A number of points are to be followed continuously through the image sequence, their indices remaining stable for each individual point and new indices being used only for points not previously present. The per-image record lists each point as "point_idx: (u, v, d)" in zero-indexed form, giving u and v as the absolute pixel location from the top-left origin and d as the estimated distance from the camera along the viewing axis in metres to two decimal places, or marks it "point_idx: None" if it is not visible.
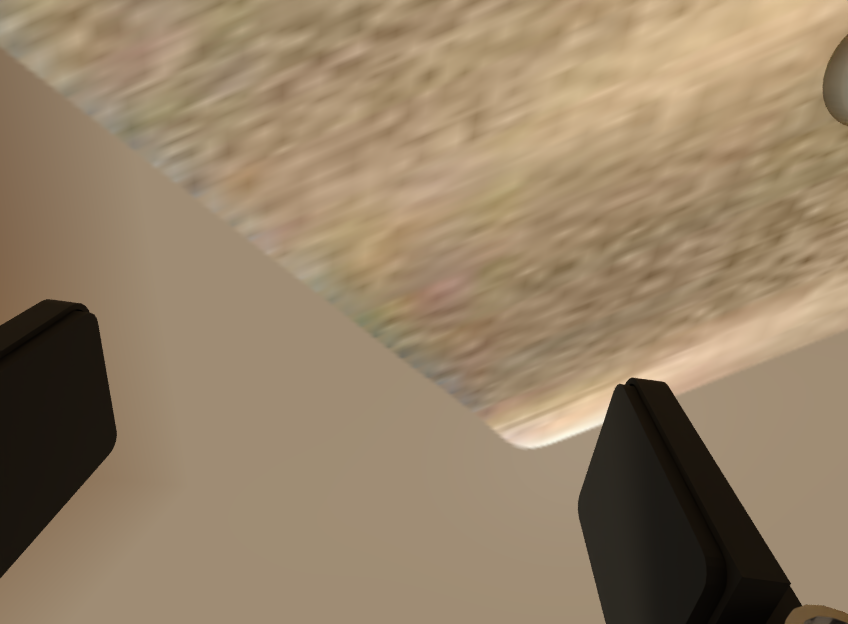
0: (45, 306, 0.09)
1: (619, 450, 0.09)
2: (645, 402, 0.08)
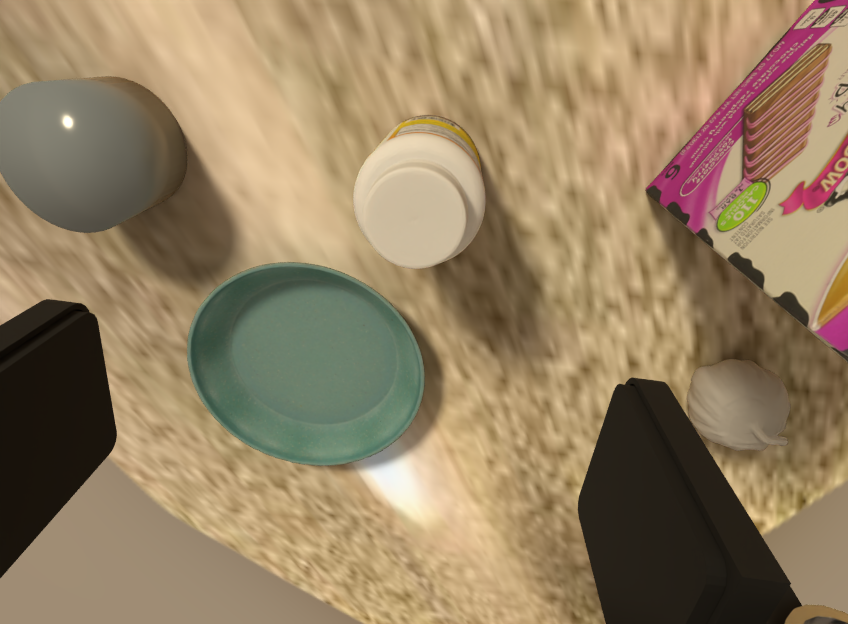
0: (45, 306, 0.09)
1: (619, 450, 0.09)
2: (645, 402, 0.08)
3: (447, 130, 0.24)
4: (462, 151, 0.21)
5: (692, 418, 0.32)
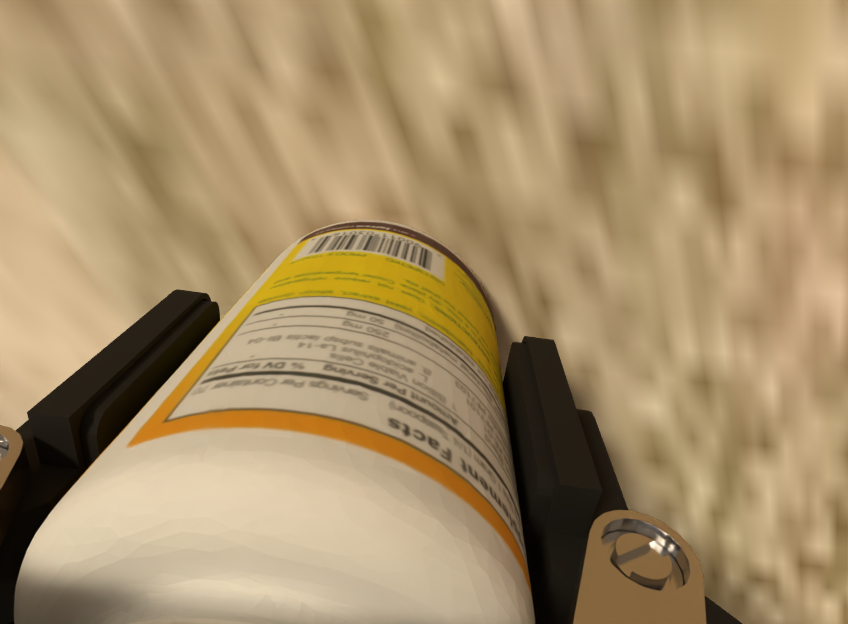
0: (178, 295, 0.09)
1: (508, 400, 0.09)
2: (529, 355, 0.09)
3: (399, 324, 0.07)
4: (443, 516, 0.05)
5: None
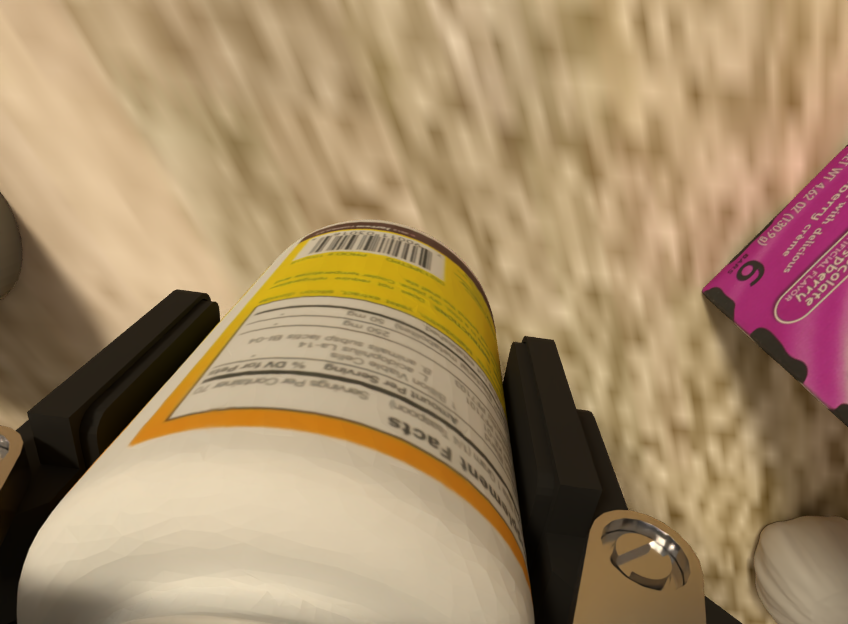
0: (178, 295, 0.09)
1: (508, 400, 0.09)
2: (529, 355, 0.09)
3: (400, 324, 0.07)
4: (443, 514, 0.05)
5: (764, 599, 0.23)
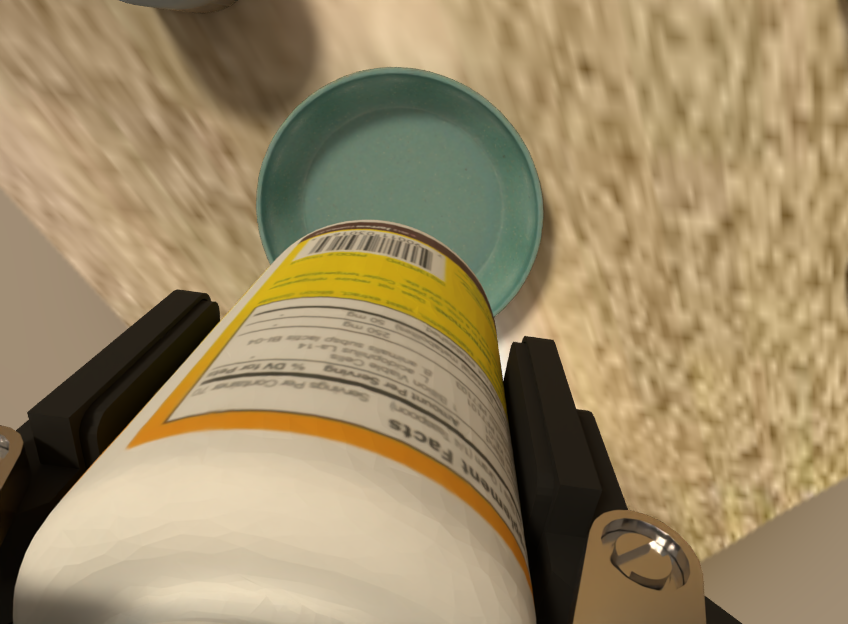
0: (179, 295, 0.09)
1: (508, 400, 0.09)
2: (529, 355, 0.09)
3: (400, 325, 0.07)
4: (444, 518, 0.05)
5: None
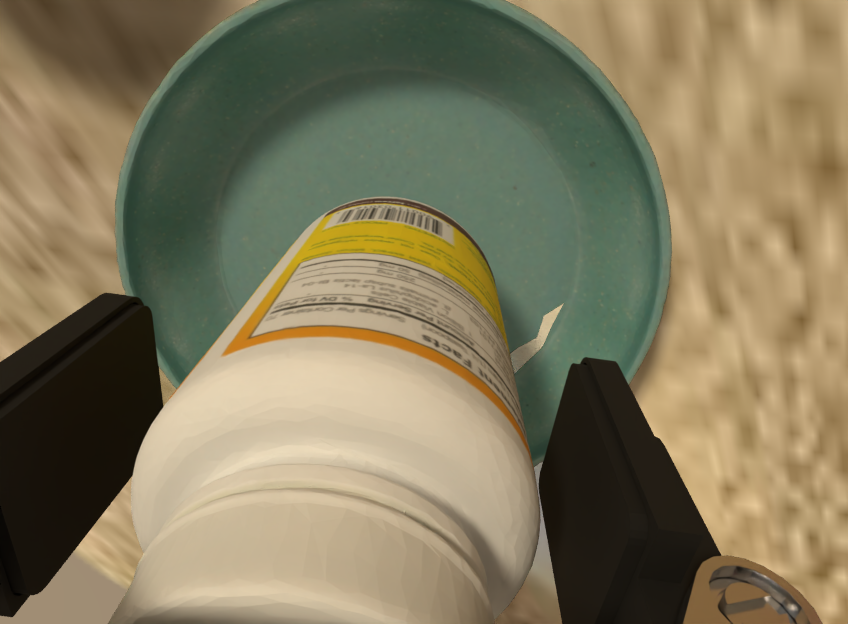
0: (105, 299, 0.09)
1: (571, 425, 0.09)
2: (594, 379, 0.09)
3: (422, 273, 0.09)
4: (468, 400, 0.06)
5: None
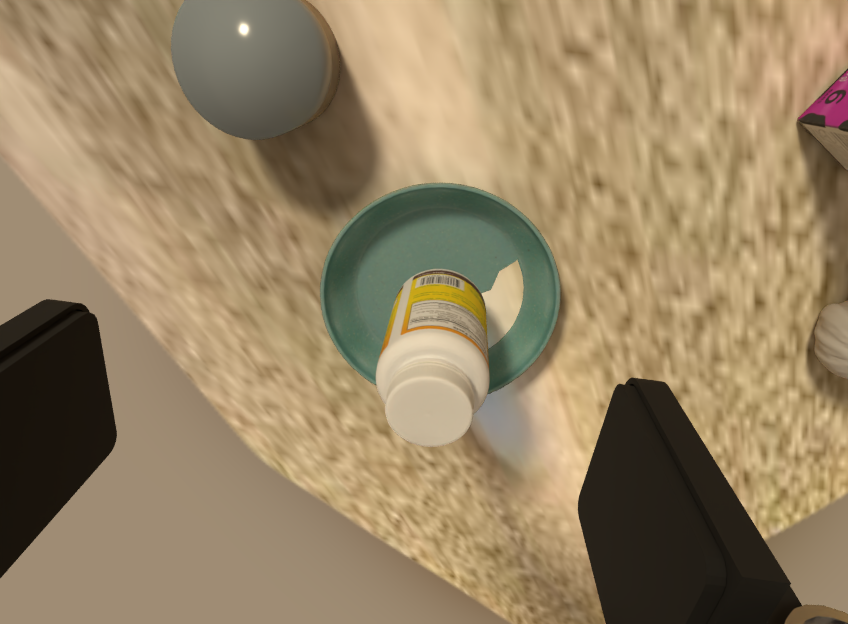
0: (45, 306, 0.09)
1: (619, 450, 0.09)
2: (645, 402, 0.08)
3: (452, 306, 0.27)
4: (465, 342, 0.25)
5: (821, 354, 0.33)
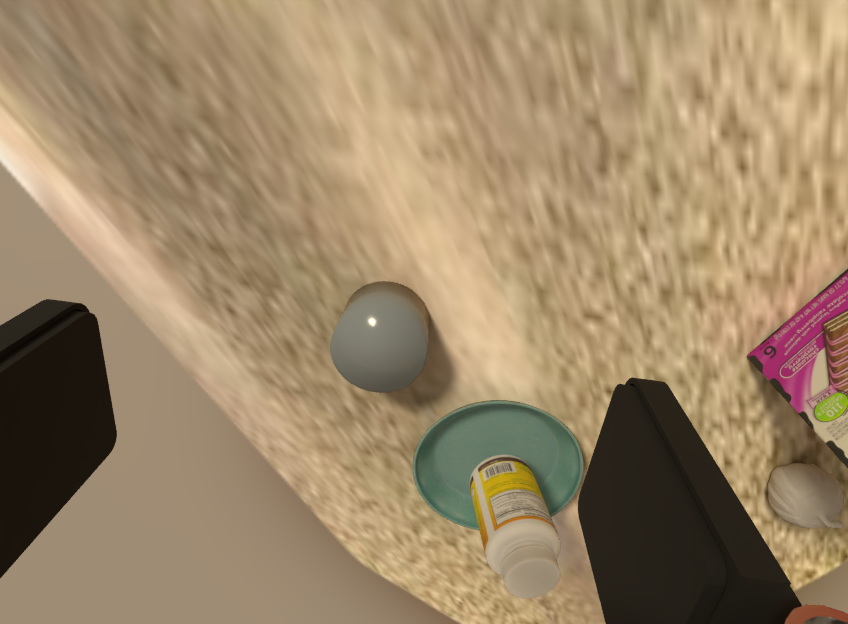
0: (45, 306, 0.09)
1: (619, 450, 0.09)
2: (645, 402, 0.08)
3: (516, 492, 0.40)
4: (537, 523, 0.38)
5: (772, 504, 0.46)
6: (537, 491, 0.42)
